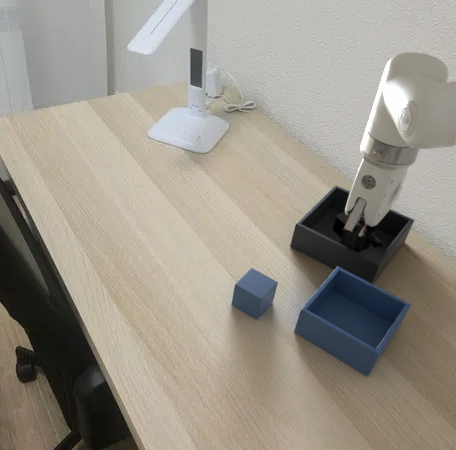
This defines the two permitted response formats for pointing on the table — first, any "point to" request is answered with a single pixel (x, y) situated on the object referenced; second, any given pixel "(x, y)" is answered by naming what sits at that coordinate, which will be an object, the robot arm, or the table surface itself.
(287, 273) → the table surface
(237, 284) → the blue block
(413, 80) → the robot arm
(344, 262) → the charcoal bin
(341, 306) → the blue bin
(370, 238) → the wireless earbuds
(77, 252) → the table surface
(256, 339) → the table surface
